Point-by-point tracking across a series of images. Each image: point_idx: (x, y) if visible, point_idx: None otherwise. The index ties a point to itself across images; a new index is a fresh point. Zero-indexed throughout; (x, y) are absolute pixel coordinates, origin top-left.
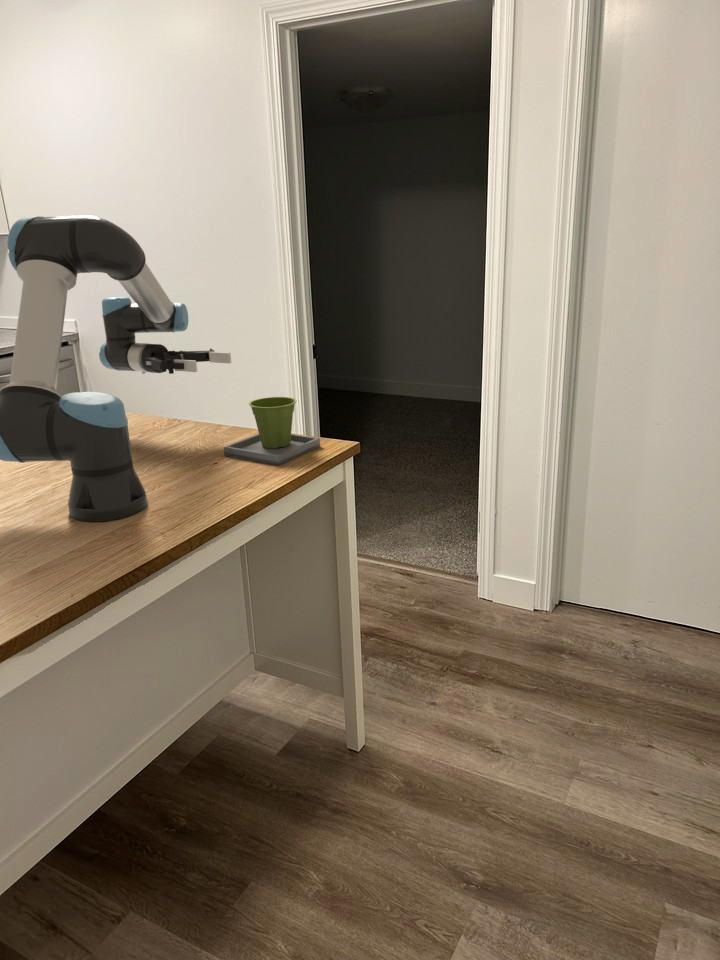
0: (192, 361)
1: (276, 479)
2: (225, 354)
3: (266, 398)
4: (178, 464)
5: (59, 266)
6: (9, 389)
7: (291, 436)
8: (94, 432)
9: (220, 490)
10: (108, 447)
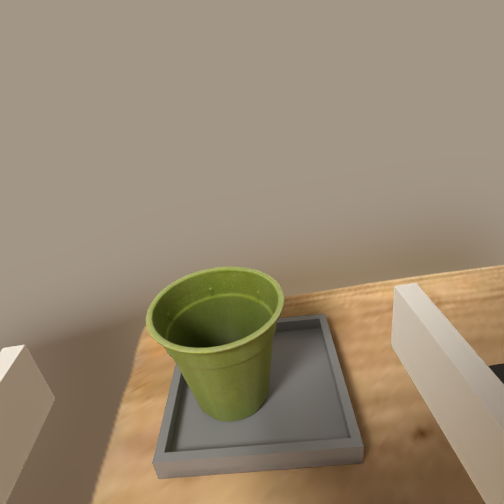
0: (423, 293)
1: (377, 296)
2: (17, 375)
3: (171, 343)
4: None
5: None
6: None
7: (180, 383)
8: None
9: (490, 318)
10: None
